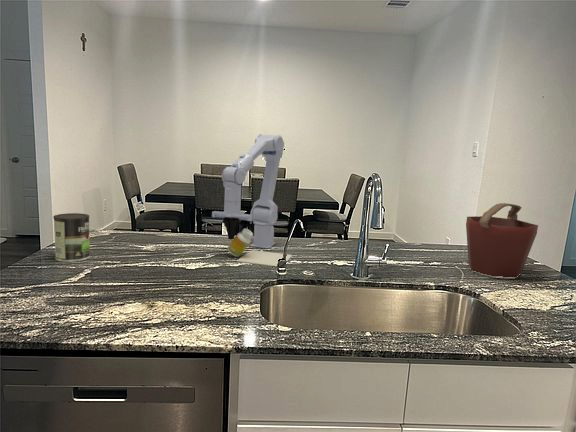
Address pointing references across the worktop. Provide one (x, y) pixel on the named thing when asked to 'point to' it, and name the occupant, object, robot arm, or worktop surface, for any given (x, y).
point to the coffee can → (71, 237)
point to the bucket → (499, 242)
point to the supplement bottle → (240, 242)
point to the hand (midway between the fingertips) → (231, 238)
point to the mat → (262, 258)
